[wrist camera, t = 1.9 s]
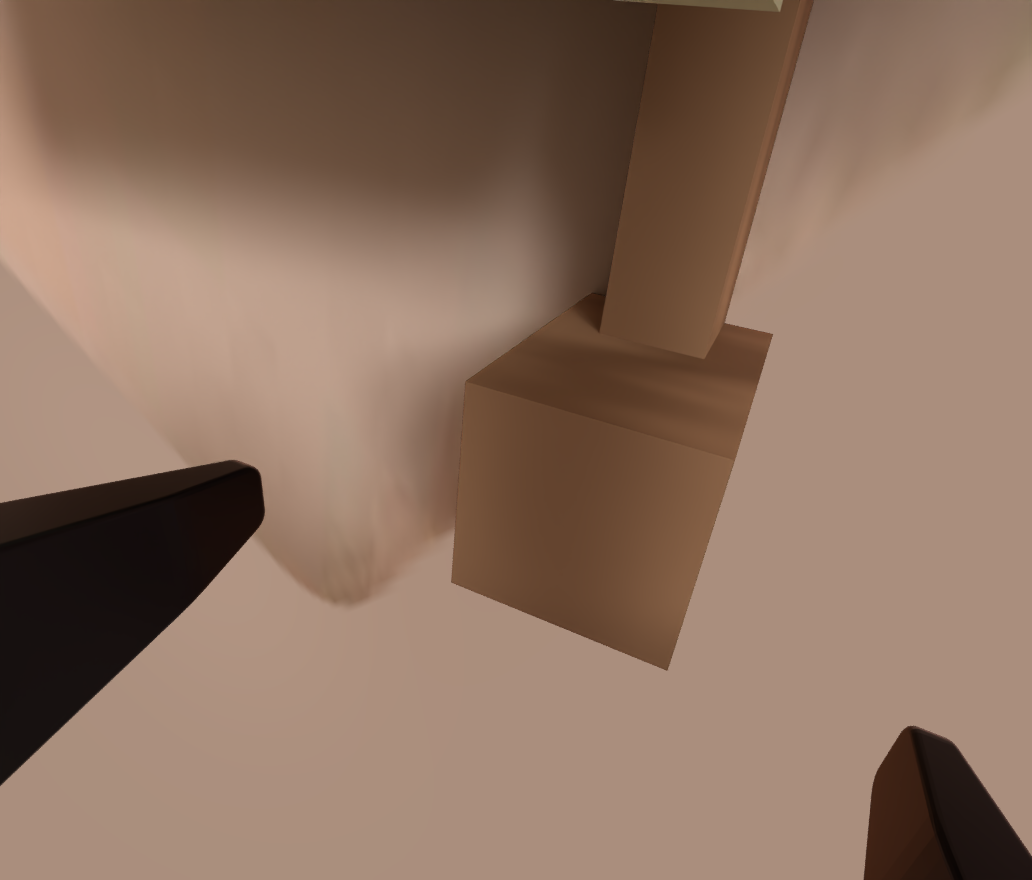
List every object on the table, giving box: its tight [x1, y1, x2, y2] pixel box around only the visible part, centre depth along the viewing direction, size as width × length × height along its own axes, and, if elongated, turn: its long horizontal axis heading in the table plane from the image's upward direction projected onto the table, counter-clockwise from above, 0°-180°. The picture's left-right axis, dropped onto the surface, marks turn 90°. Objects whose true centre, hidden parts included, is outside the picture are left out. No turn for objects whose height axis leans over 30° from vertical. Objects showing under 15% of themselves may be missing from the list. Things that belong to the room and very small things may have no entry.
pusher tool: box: [451, 0, 814, 670], centre depth 10 cm, size 4×14×6 cm, turn 173°
